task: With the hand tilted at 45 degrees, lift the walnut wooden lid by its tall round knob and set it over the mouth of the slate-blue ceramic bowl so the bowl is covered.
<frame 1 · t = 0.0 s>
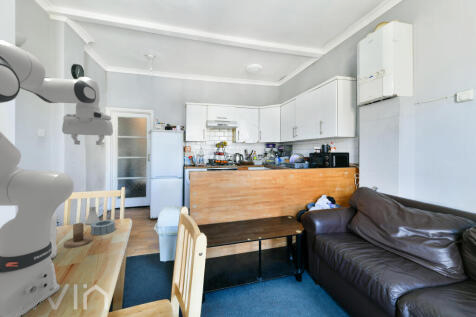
hand: (88, 144, 93), 48 cm above the table, tool pointing down, fingers open, 8 cm apart
walnut lid: (78, 242, 98), on the table
slate-blue bowl: (103, 231, 112), on the table
flask: (92, 223, 124), on the table
water bottle: (45, 259, 83), on the table
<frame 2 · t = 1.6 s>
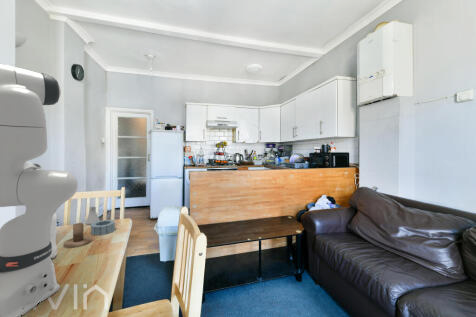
hand: (47, 191, 94), 26 cm above the table, tool tilted 45°, fingers open, 8 cm apart
nothing on the table moved.
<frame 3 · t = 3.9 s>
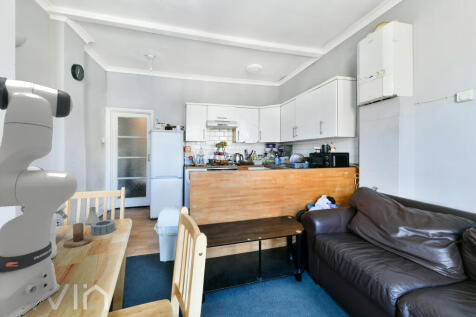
hand: (61, 221, 96), 11 cm above the table, tool tilted 45°, fingers open, 8 cm apart
nothing on the table moved.
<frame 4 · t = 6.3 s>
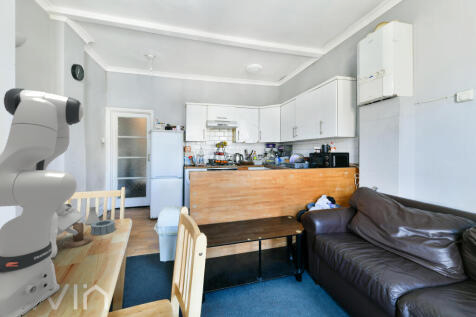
hand: (79, 231, 98), 5 cm above the table, tool tilted 45°, fingers closed on walnut lid, 4 cm apart
walnut lid: (78, 242, 98), on the table, touching gripper
water bottle: (45, 259, 83), on the table, touching arm
everything else where it was.
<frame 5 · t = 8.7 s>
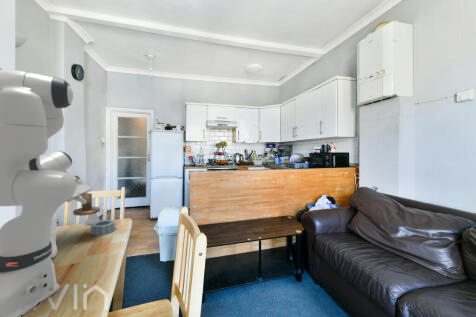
hand: (88, 201, 103), 19 cm above the table, tool tilted 45°, fingers closed on walnut lid, 4 cm apart
walnut lid: (87, 212, 103), point 14 cm above the table, touching gripper
water bottle: (45, 259, 83), on the table
everything else where it was.
when the fingers open (11 cm above the table, at t = 11.3 s): walnut lid drops 1 cm, resting on slate-blue bowl.
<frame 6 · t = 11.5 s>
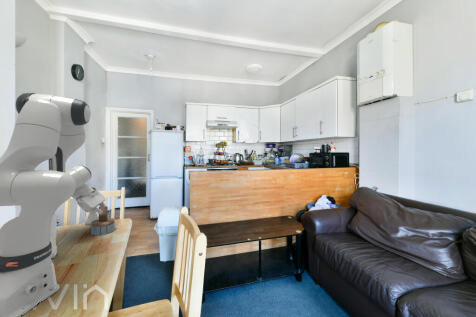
hand: (104, 211, 112), 11 cm above the table, tool tilted 45°, fingers open, 6 cm apart
walnut lid: (103, 223, 112), point 4 cm above the table, touching slate-blue bowl
everything else where it was.
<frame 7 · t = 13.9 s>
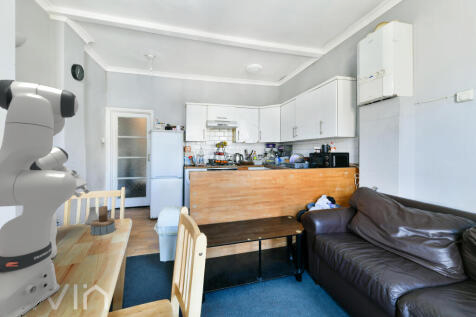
hand: (84, 194, 109), 21 cm above the table, tool tilted 45°, fingers open, 8 cm apart
nothing on the table moved.
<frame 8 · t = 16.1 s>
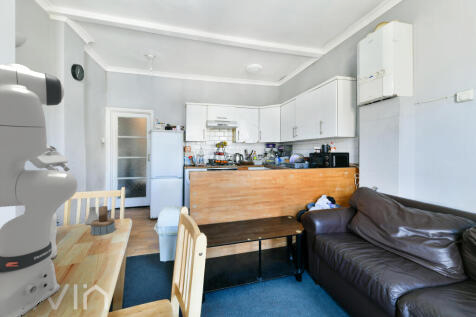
hand: (63, 171, 101), 34 cm above the table, tool tilted 45°, fingers open, 8 cm apart
nothing on the table moved.
at the end: walnut lid 0.1 cm off-centre on the slate-blue bowl, point 4.5 cm above the slate-blue bowl's base; walnut lid tilted 0°; the gripper is holding nothing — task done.
